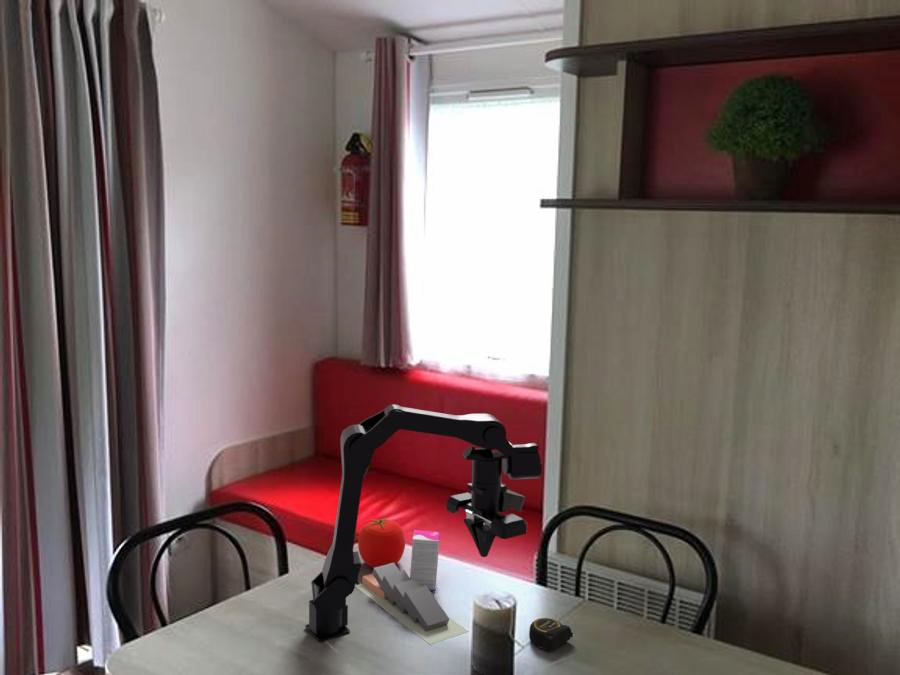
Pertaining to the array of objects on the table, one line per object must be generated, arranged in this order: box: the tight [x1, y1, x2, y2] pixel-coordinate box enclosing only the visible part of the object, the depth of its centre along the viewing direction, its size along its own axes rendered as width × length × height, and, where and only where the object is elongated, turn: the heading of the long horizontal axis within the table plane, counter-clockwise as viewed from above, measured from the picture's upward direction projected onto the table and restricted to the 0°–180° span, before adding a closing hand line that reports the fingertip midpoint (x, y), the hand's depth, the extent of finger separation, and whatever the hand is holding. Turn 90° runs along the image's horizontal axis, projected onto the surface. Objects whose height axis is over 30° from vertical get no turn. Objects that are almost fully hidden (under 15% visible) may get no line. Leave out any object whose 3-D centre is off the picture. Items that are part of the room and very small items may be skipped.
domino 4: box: [393, 578, 421, 623], centre depth 161 cm, size 5×2×9 cm
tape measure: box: [528, 617, 574, 652], centre depth 151 cm, size 7×7×4 cm
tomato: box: [357, 517, 406, 569], centre depth 183 cm, size 10×11×11 cm
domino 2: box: [371, 563, 400, 605], centre depth 168 cm, size 5×2×9 cm
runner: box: [355, 583, 469, 646], centre depth 163 cm, size 9×29×1 cm, turn 36°
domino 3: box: [382, 569, 411, 614], centre depth 165 cm, size 5×2×9 cm
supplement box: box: [409, 529, 440, 593], centre depth 173 cm, size 6×6×12 cm
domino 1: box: [362, 573, 388, 599], centre depth 171 cm, size 5×2×9 cm
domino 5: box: [404, 586, 450, 631], centre depth 158 cm, size 5×2×9 cm
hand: (484, 556), depth 158 cm, fingers closed
